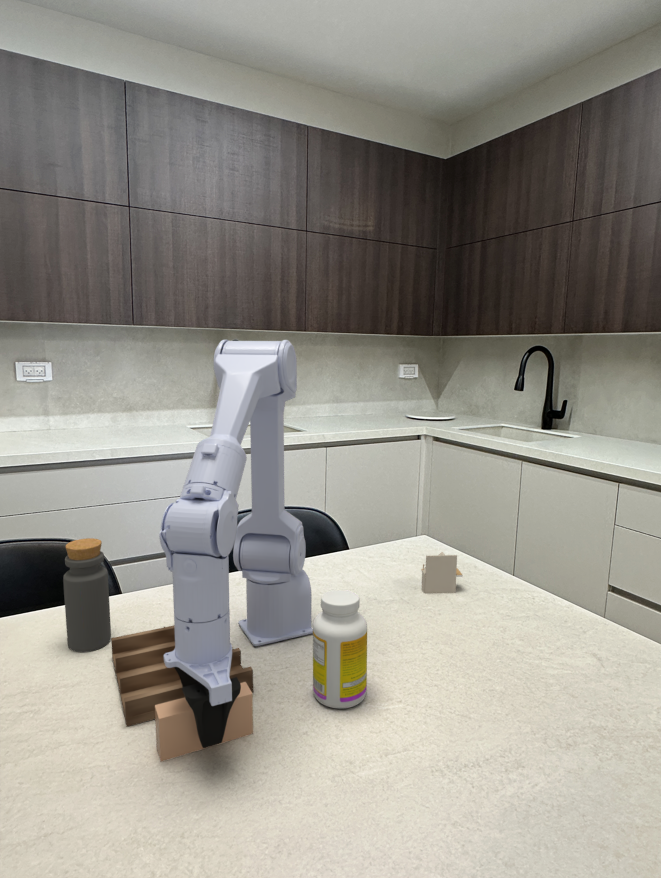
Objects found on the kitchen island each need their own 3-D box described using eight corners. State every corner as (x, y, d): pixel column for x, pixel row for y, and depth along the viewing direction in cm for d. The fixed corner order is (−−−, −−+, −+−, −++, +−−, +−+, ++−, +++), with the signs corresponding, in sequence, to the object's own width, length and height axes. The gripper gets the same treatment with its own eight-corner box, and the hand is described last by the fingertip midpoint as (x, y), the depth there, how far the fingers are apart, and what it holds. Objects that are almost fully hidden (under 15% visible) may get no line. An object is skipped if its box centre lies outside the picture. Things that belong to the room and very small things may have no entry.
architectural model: (419, 588, 103) (420, 549, 102) (456, 587, 103) (458, 548, 102) (423, 596, 99) (425, 556, 98) (462, 595, 100) (463, 555, 99)
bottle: (95, 654, 78) (89, 552, 76) (58, 650, 79) (51, 548, 77) (119, 634, 84) (114, 538, 82) (84, 630, 85) (78, 535, 83)
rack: (218, 634, 84) (218, 616, 84) (253, 692, 70) (253, 670, 69) (112, 658, 77) (111, 637, 77) (126, 726, 63) (125, 702, 63)
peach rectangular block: (246, 721, 65) (245, 681, 64) (253, 735, 62) (252, 693, 62) (156, 747, 60) (154, 705, 59) (160, 763, 58) (158, 718, 57)
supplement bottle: (372, 685, 72) (374, 589, 70) (357, 716, 65) (359, 612, 64) (323, 675, 74) (323, 582, 72) (304, 704, 68) (304, 603, 66)
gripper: (151, 591, 64) (156, 700, 66) (177, 651, 51) (182, 785, 53) (212, 580, 67) (215, 685, 69) (251, 635, 54) (253, 762, 56)
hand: (205, 728), depth 61 cm, fingers open, 5 cm apart
